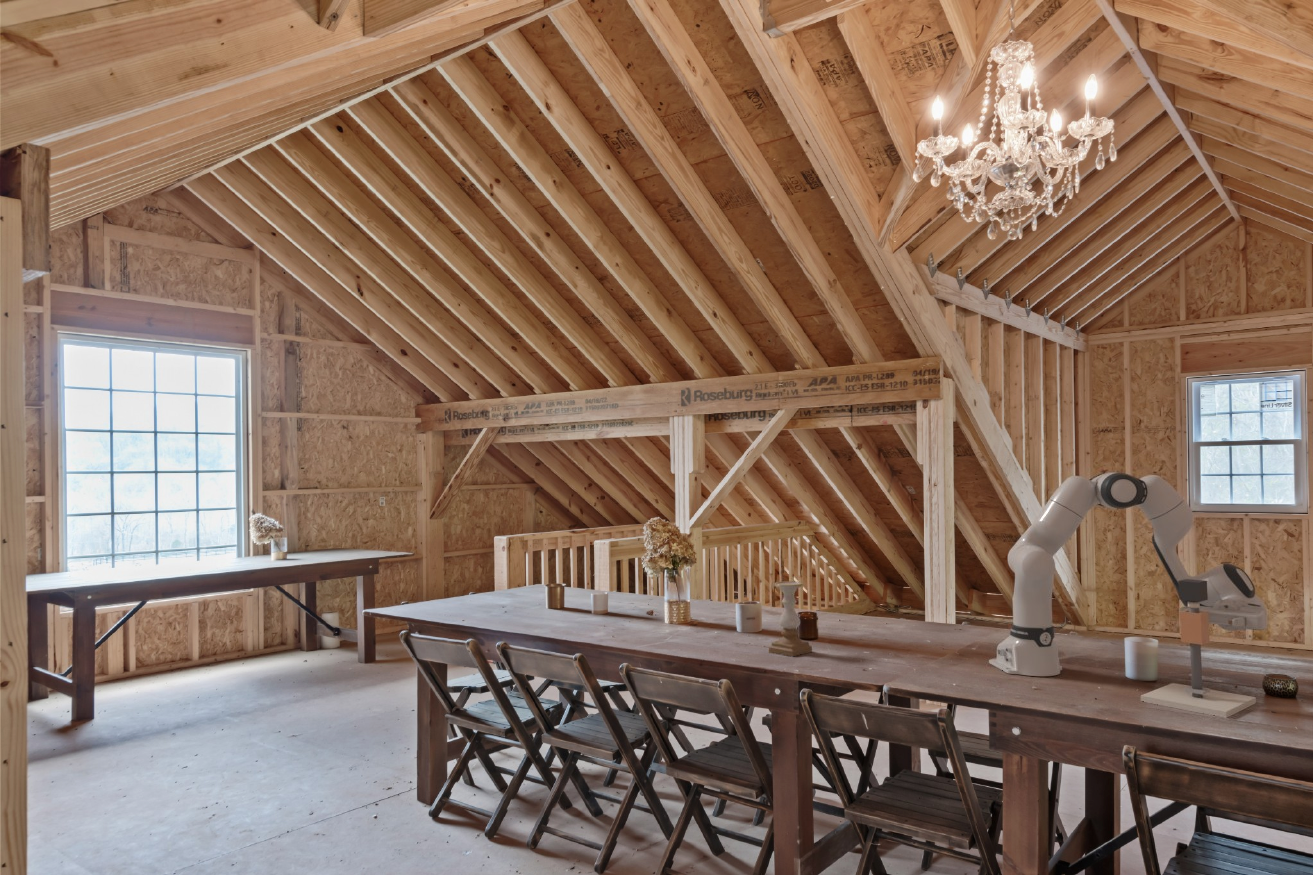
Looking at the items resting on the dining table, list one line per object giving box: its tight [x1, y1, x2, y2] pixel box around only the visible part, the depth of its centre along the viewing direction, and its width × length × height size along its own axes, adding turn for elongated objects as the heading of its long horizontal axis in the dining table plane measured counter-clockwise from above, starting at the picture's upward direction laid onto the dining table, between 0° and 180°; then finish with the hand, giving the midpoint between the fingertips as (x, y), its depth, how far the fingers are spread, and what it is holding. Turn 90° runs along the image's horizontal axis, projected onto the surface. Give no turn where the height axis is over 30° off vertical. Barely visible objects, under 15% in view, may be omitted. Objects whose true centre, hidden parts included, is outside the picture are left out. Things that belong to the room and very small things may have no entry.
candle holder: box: [768, 580, 813, 657], centre depth 294 cm, size 11×11×24 cm
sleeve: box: [1179, 609, 1210, 646], centre depth 224 cm, size 5×5×8 cm
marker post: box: [1140, 579, 1257, 719], centre depth 224 cm, size 20×20×32 cm
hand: (1211, 620), depth 231 cm, fingers open, 8 cm apart
